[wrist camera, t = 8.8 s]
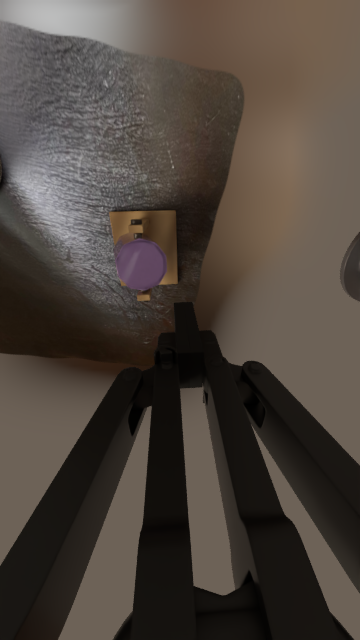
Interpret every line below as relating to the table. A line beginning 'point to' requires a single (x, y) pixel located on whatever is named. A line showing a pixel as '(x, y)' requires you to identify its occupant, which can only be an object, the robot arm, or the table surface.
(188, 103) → the table surface
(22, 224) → the table surface
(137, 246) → the cup
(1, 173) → the vase
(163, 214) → the swivel stand
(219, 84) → the table surface
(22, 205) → the table surface
